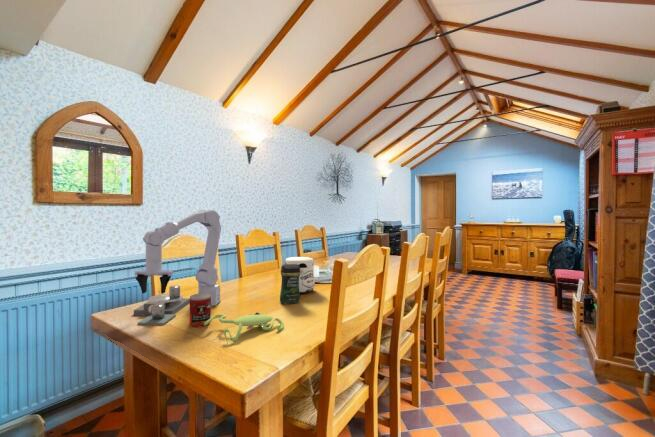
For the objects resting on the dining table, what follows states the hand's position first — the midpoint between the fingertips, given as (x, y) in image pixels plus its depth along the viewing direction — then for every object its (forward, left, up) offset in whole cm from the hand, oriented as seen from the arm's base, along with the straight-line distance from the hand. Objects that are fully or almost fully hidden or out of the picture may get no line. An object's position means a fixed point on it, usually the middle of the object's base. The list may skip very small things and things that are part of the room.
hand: (153, 292), depth 129 cm
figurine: (-40, +14, -10) cm, 44 cm away
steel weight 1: (-4, +4, -9) cm, 11 cm away
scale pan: (+1, -11, -6) cm, 13 cm away
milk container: (-57, -42, -10) cm, 72 cm away
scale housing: (+1, -10, -10) cm, 14 cm away
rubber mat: (-4, +5, -10) cm, 12 cm away
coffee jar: (-54, -22, -10) cm, 59 cm away
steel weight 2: (-3, -11, -5) cm, 13 cm away
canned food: (-22, +8, -10) cm, 25 cm away
